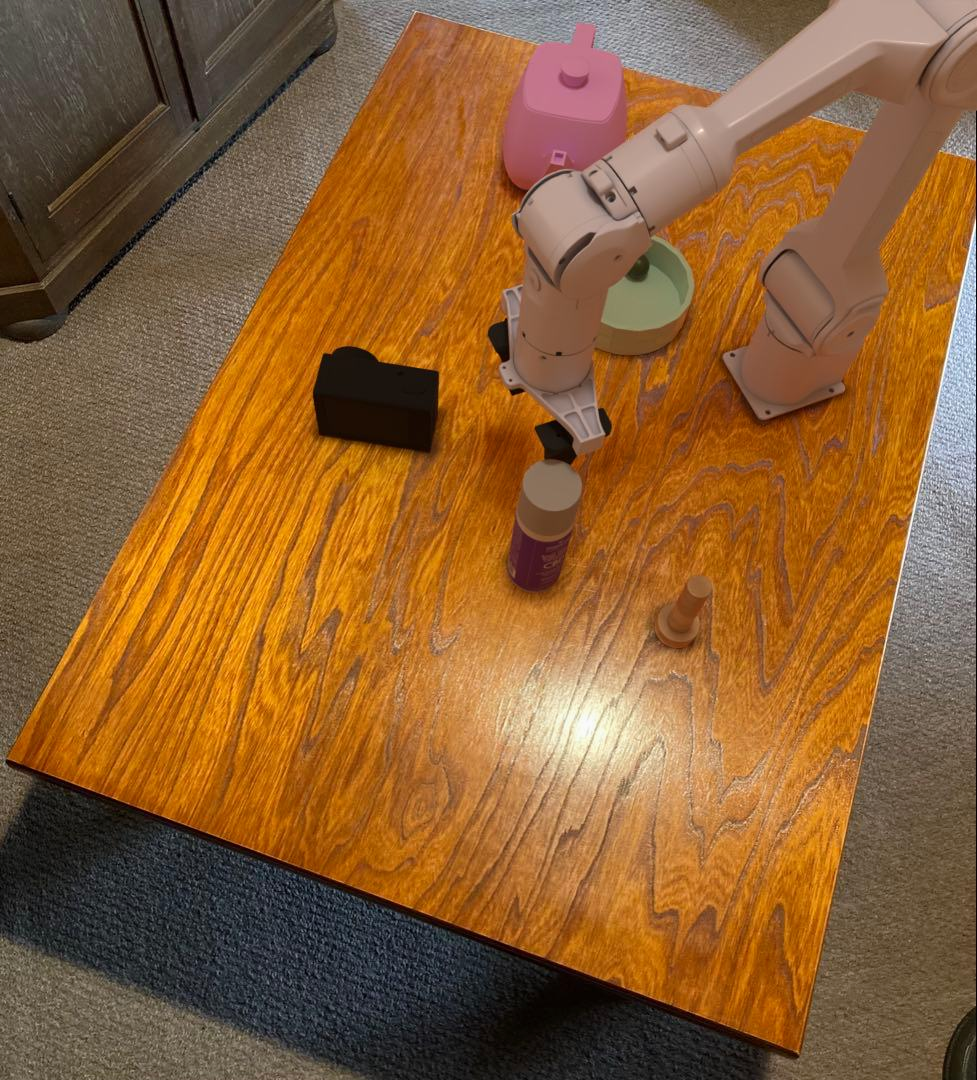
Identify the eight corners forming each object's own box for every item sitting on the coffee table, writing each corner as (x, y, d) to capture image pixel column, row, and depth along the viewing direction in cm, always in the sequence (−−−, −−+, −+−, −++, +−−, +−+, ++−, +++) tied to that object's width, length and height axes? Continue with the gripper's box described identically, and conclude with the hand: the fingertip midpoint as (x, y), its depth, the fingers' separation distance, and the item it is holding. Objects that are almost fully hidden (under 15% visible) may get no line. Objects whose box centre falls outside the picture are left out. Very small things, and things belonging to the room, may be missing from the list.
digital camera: (441, 403, 100) (443, 359, 94) (431, 453, 98) (432, 410, 92) (331, 386, 100) (325, 340, 94) (318, 435, 98) (312, 391, 92)
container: (543, 603, 92) (563, 523, 78) (496, 575, 93) (509, 492, 79) (570, 561, 94) (595, 477, 80) (524, 535, 95) (541, 447, 81)
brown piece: (684, 603, 93) (709, 558, 85) (703, 639, 91) (730, 597, 83) (646, 617, 92) (668, 573, 84) (666, 654, 90) (690, 613, 82)
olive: (640, 261, 108) (645, 245, 106) (651, 279, 107) (656, 263, 105) (619, 268, 108) (623, 251, 106) (629, 286, 107) (634, 270, 105)
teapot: (518, 91, 119) (528, -13, 107) (629, 111, 118) (651, 9, 107) (484, 226, 110) (492, 129, 99) (604, 248, 110) (626, 153, 98)
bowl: (650, 243, 110) (658, 215, 107) (706, 335, 105) (717, 309, 102) (542, 275, 108) (546, 248, 104) (595, 371, 103) (601, 346, 99)
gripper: (467, 261, 78) (461, 371, 90) (548, 422, 72) (530, 515, 84) (556, 236, 79) (538, 347, 91) (642, 391, 73) (611, 487, 86)
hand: (539, 426), depth 88 cm, fingers open, 7 cm apart
